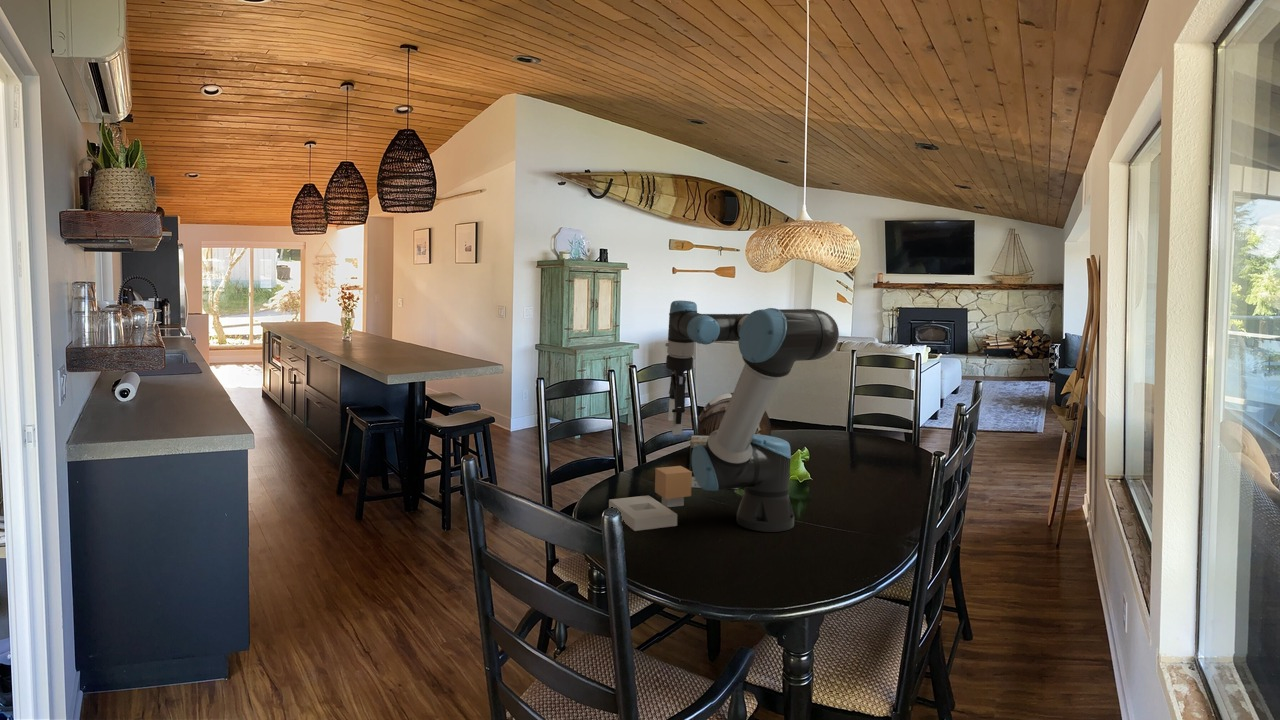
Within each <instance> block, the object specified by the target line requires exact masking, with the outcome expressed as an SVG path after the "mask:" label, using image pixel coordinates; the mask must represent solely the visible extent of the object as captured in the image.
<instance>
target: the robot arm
mask: <svg viewBox="0 0 1280 720" xmlns="http://www.w3.org/2000/svg"><path fill="white" fill-rule="evenodd" d="M668 313H669V314H668V315H669V316H668V333H667V336H668V337H667V343H665V345H664V346H665V347H667V349H666V353H667V355H666V359H665V363H666V364H665V368H666V369H667V370H670V371H671V373H670V383H669V391H668V396H669V399H668V412H667V413H668V414H667V421H668V422H669V421H670V422H671V421H672V429H671V434H672V435H677V436H679V435H680V436H682V435H683V424H684V414H685V412H686V406H685V403H686V400H685V399H686V381H687V377H686V375H685V372H689V371H690V372H691V371H692V369H693V363H694V357H693V356H694V353H695V343H696V344H699V345H701V344H702V345H710V344H713V343H714V342H738V349H739V352H740V354H741V358H742V361H743V363H744V366H743V367H742V370H741V373H740V375H739V378H738V380H737V382H736V384H735V385H736V386H735V387H734V390H733V392H732V393H733V394H732V397H731V399H730V402H729V404H728V407H727V409H726V412H725V414H724V417H723V419H722V421H721V424H720V426H719V429H718V430H715V431H713V432H712V433H711V434H710V435H709V437H708V440H707V442H706V444H705V445H702V444H700V445H698V446H695V447H694V449H693V451H692V469H693V473H694V476H695V479H696V481H697V483H698V485H699V486H700V487H701V488H700V489H702V490H704V491H707V492H708V491H709V492H710V491H715V492H718V491H724V490H735V489H734V488H738V489H741V488H744V489H743V495H742V498H741V499H740V500H741V501H740V503H739V506H738V508H737V511H736V523H737V524H738V525H739V526H741V527H742V528H745V529H748V530H752V531H756V532H757V531H758V532H766V533H777V532H785V531H786V532H787V531H789V530H791V529H792V528H794V526H795V514H794V511H793V508H792V503H791V500H790V497H789V496H790V494H789V493H790V477H791V475H790V474H791V459H792V454H791V445H790V443H789V442H788V441H787V440H785V439H783V438H780V437H777V436H767V435H759V434H755V432H756V430H757V427H758V425H759V423H760V421H761V419H762V416H763V414H764V412H765V411H767V407H768V405H769V403H770V401H771V399H772V396H773V394H774V392H775V390H776V387H777V385H778V383H779V380H780V379H783V378H785V377H787V376H788V375H789V374H790V373H791V370H792V368H793V366H794V365H795V362H803V361H815V360H819V359H821V358H825V357H827V356H829V354H831V353H832V352H833V350H834V349H835V348H836V346H837V343H838V340H839V339H840V338H839V336H840V335H839V334H840V333H839V332H840V331H839V326H838V323H837V322H836V320H835V319H834V318H833V316H831V315H830V314H829V313H827V312H825V311H823V310H820V309H815V308H806V309H805V308H804V309H803V308H794V309H793V308H791V309H789V308H788V309H787V308H786V309H781V308H780V309H778V308H773V307H768V308H764V309H756V310H753V311H752V312H750V313H700V312H698V306H697V303H696V302H694V301H691V300H674V301H672V302H671V303H670V308H669V312H668Z"/></svg>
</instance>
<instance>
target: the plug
mask: <svg viewBox="0 0 1280 720" xmlns="http://www.w3.org/2000/svg"><path fill="white" fill-rule="evenodd" d="M654 470H655V472H654V473H655V475H654V476H655V478H654V493H656V494H657V495H659V496H660V497H661V504H663V505H664V506H666V507H667V508H672V507H673V508H674V507H683V506H684V505H685V504H684V503H685V498H686V497H692V487H691V484H692V472H691V471H690V469H688V468H686V467H684V466H682V465H676V466H675V465H674V466H665V467H664V466H662V467H655V469H654Z"/></svg>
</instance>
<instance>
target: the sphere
mask: <svg viewBox="0 0 1280 720" xmlns="http://www.w3.org/2000/svg"><path fill="white" fill-rule="evenodd" d="M732 394H733V392H729V393H724V394H720V395H718V396H716V397H714V398H713V399H711V400H710V401H709V402H708V403H707V404H706V405H705V406H704V407H703V409H702V410H701V411H700V414H699V415H698V420H697V426H696V433H697V435H698V436H709V435H710V434H711V433H712V432H713V431H715V430H718V429H719V426H720V424H721V421H722V419H723V417H724V414H725V412H726V409H727V407H728V404H729V402H730V399H731V397H732ZM755 434H759V435H767V436H771V435H772V424H771V420H770V417H769V415H768V413H767V410H765V412H764V414H763V416H762V419H761V421H760V423H759V425H758V427H757V430H756V432H755Z"/></svg>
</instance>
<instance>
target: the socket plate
mask: <svg viewBox="0 0 1280 720" xmlns="http://www.w3.org/2000/svg"><path fill="white" fill-rule="evenodd" d="M611 507H613V508H617V509H618V510H619V511H620V512H621V516H622V520H621V521H622V522H623V520H624V522H625V523H624V522H623V523H624V524H625V525H627V526H628V527H629V528H630V529H631V530H633V531H634V532H637V531H644V530H645V531H646V530H654V529H660V528H662V529H663V528H670V527H676V526H678V513H676V512H675V511H673V510H671V508H669V507H666V506H665V505H664V504H662V502H660V501H658V500H656V499H655V498H653V497H652V496H650V495H640V496H631V497H621V498H612V499H608V509H609V508H611Z"/></svg>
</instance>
